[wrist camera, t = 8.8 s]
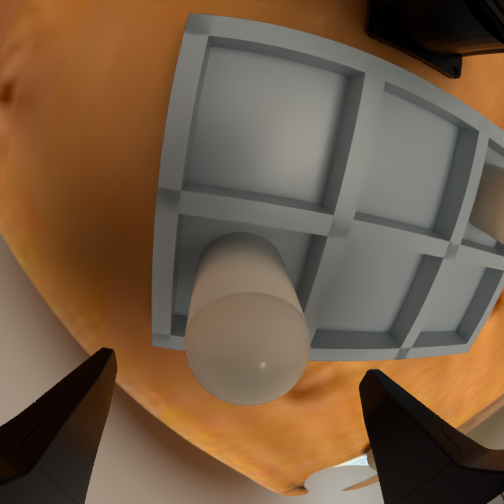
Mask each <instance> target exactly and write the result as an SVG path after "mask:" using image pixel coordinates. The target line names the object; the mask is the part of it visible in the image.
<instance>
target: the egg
mask: <svg viewBox="0 0 504 504" xmlns="http://www.w3.org/2000/svg"><path fill="white" fill-rule="evenodd" d="M184 350H185V356H186V360H187V363H188V366H189V369H190V371H191V373H192V374H193V376H194V378H195V379H196V381H197V382H198V383H199V384H200V385H201V386H202V387H203V389H205V390H206V391H207V392H208V393H210V394H211V395H212V396H214V397H216V398H217V399H219V400H222V401H224V402H227V403H230V404H233V405H239V406H256V405H262V404H266V403H269V402H272V401H274V400H276V399H278V398H280V397H281V396H283V395H284V394H286V393H287V392H288V391H290V390H291V389H292V388H293V387H294V386H295V385H296V384H297V382H298V381H299V380H300V378H301V377H302V375H303V373H304V371H305V369H306V367H307V364H308V361H309V357H310V350H311V339H310V332H309V328H308V325H307V322H306V319H305V316H304V314H303V311H302V308H301V306H300V303H299V300H298V298H297V295H296V292H295V290H294V287H293V285H292V282H291V279H290V277H289V274H288V272H287V269H286V266H285V264H284V261H283V259H282V256H281V254H280V252H279V251H278V249H277V248H276V247H275V246H274V245H273V244H272V243H271V242H270V241H269V240H267V239H266V238H264V237H262V236H259V235H257V234H253V233H248V232H235V233H230V234H226V235H224V236H221V237H219V238H217V239H216V240H214V241H213V242H211V243H210V244H209V245H208V246H207V247H206V248H205V250H204V251H203V252H202V254H201V256H200V258H199V261H198V265H197V270H196V275H195V281H194V286H193V292H192V297H191V303H190V308H189V314H188V320H187V326H186V332H185V340H184Z"/></svg>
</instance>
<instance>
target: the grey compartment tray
mask: <svg viewBox="0 0 504 504" xmlns="http://www.w3.org/2000/svg"><path fill="white" fill-rule="evenodd" d="M484 164H493V165H496V166H499V167H502V168H504V131H503V130H502V129H500V128H499V127H498V126H496V125H495V124H494V123H492V122H491V121H490V120H488V119H487V118H486V117H484V116H483V115H481V114H480V113H479V112H477V111H476V110H474V109H473V108H471V107H470V106H468V105H467V104H465V103H464V102H462V101H461V100H459V99H458V98H456V97H454V96H453V95H451V94H449V93H448V92H446V91H444V90H443V89H441V88H439V87H438V86H436V85H434V84H432V83H430V82H429V81H427V80H425V79H423V78H421V77H419V76H417V75H415V74H413V73H411V72H409V71H407V70H405V69H403V68H401V67H399V66H397V65H395V64H393V63H390V62H388V61H386V60H384V59H381V58H379V57H377V56H374V55H372V54H369V53H367V52H364V51H362V50H359V49H356V48H354V47H351V46H348V45H345V44H342V43H339V42H336V41H333V40H330V39H327V38H324V37H321V36H317V35H314V34H310V33H307V32H303V31H299V30H295V29H291V28H287V27H283V26H278V25H274V24H269V23H264V22H258V21H253V20H247V19H240V18H233V17H225V16H216V15H206V14H192V13H189V17H188V20H187V24H186V28H185V32H184V36H183V40H182V44H181V48H180V52H179V57H178V61H177V66H176V70H175V75H174V80H173V85H172V90H171V96H170V101H169V107H168V113H167V119H166V125H165V132H164V138H163V146H162V153H161V161H160V169H159V178H158V188H157V199H156V210H155V224H154V240H153V262H152V346H156V347H163V348H169V349H176V350H183V351H185V350H184V340H185V332H186V326H187V320H188V314H189V308H190V303H191V297H192V292H193V286H194V281H195V275H196V270H197V265H198V261H199V258H200V256H201V254H202V252H203V251H204V250H205V248H206V247H207V246H208V245H209V244H210V243H211V242H213V241H214V240H216V239H217V238H219V237H221V236H224V235H226V234H230V233H235V232H248V233H253V234H257V235H259V236H262V237H264V238H266V239H267V240H269V241H270V242H271V243H272V244H273V245H274V246H275V247H276V248H277V249H278V251H279V252H280V254H281V256H282V259H283V261H284V264H285V266H286V269H287V272H288V274H289V277H290V279H291V282H292V285H293V287H294V290H295V292H296V295H297V298H298V300H299V303H300V306H301V308H302V311H303V314H304V316H305V319H306V322H307V325H308V328H309V332H310V339H311V350H310V357H309V361H372V360H394V359H409V358H422V357H433V356H443V355H451V354H459V353H467V352H468V351H469V349H470V348H471V346H472V344H473V343H474V341H475V339H476V338H477V336H478V334H479V333H480V331H481V329H482V327H483V326H484V324H485V322H486V320H487V318H488V317H489V315H490V313H491V311H492V309H493V307H494V305H495V303H496V301H497V299H498V297H499V295H500V293H501V291H502V289H503V287H504V245H503V244H502V243H500V242H498V241H497V240H495V239H494V238H492V237H490V236H489V235H487V234H486V233H484V232H482V231H481V230H479V229H477V228H475V227H474V226H473V225H472V224H471V223H470V221H469V217H470V214H471V211H472V208H473V204H474V201H475V197H476V194H477V190H478V186H479V182H480V178H481V174H482V170H483V166H484Z"/></svg>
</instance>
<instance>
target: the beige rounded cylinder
mask: <svg viewBox="0 0 504 504" xmlns="http://www.w3.org/2000/svg"><path fill="white" fill-rule="evenodd" d="M469 221H470V223H471V224H472V225H473V226H474V227H475V228H477V229H479V230H481V231H482V232H484V233H486V234H487V235H489V236H490V237H492V238H494V239H495V240H497V241H498V242H500V243H502V244H503V245H504V168H502V167H499V166H496V165H493V164H484V166H483V170H482V174H481V178H480V182H479V186H478V190H477V194H476V197H475V201H474V204H473V208H472V211H471V214H470V217H469Z"/></svg>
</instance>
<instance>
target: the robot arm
mask: <svg viewBox="0 0 504 504" xmlns="http://www.w3.org/2000/svg"><path fill="white" fill-rule="evenodd" d="M366 1H367V2H368V8H367V16H366V23H365V30H366V32H367V34H368V35H369V36H371V37H372V38H375V39H377V40H379V41H382V42H384V43H386V44H388V45H391V46H393V47H395V48H397V49H399V50H401V51H403V52H405V53H407V54H409V55H411V56H413V57H415V58H417V59H419V60H421V61H422V62H424V63H426V64H428V65H430V66H431V67H433V68H435V69H436V70H438V71H440V72H442V73H443V74H445V75H446V76H448V77H450V78H452V79H457V78H459V77H460V76H461V66H462V57H465V56H473V55H483V54H494V53H504V0H366ZM373 26H374V27H376V28H377V30H378V32H375V31H374V29H373ZM452 68H453V70H454V73H453V71H452ZM116 374H117V362H116V356H115V351H114V350H113V349H109V348H105V347H103V348H101V349H100V350H98V351H97V352H96V353H95V354H93V355H92V356H91V357H90V358H88V359H87V360H86V361H84V362H83V363H82V364H81V365H79V366H78V367H77V368H76V369H74V370H73V371H72V372H71V373H69V374H68V375H67V376H66V377H65V378H63V379H62V380H61V381H60V382H58V383H57V384H56V385H55V386H53V387H52V388H51V389H50V390H48V391H47V392H46V393H45V394H43V395H42V396H41V397H40V398H39V399H37V400H36V403H35V402H34V403H33V404H31V405H30V406H29V407H28V408H26V409H25V410H24V411H22V412H21V413H20V414H19V415H17V416H16V417H14V418H13V419H11V420H10V421H8V422H7V423H5V424H4V425H2V426H0V504H84V503H85V499H86V494H87V489H88V485H89V481H90V477H91V473H92V469H93V465H94V461H95V458H96V454H97V450H98V447H99V443H100V440H101V436H102V433H103V429H104V426H105V423H106V419H107V416H108V413H109V409H110V404H111V399H112V394H113V389H114V384H115V379H116ZM359 392H360V398H361V404H362V410H363V417H364V422H365V426H366V430H367V434H368V437H369V441H370V445H371V449H372V453H373V457H374V461H375V465H376V469H377V473H378V478H379V482H380V486H381V490H382V495H383V500H384V504H504V450H492V449H487V448H485V447H483V446H481V445H480V444H478V443H477V442H475V441H473V440H472V439H470V438H469V437H467V436H465V435H464V434H462V433H461V432H459V431H458V430H456V429H455V428H454V427H452V426H451V425H449V424H448V423H447V422H445V421H444V420H443V419H441V418H440V417H439V416H438V415H436V414H435V413H434V412H433V411H431V410H430V409H429V408H427V407H426V406H425V405H424V404H422V403H421V402H420V401H418V400H417V399H416V398H415V397H413V396H412V395H411V394H409V393H408V392H407V391H406V390H404V389H403V388H402V387H401V386H399V385H398V384H397V383H395V382H394V381H393V380H392V379H390V378H389V377H388V376H387V375H385V374H384V373H383V372H382V371H380V370H379V369H370V370H368V371H367V372H366V374H365V376H364V377H363V379H362V381H361V382H360V385H359Z"/></svg>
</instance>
